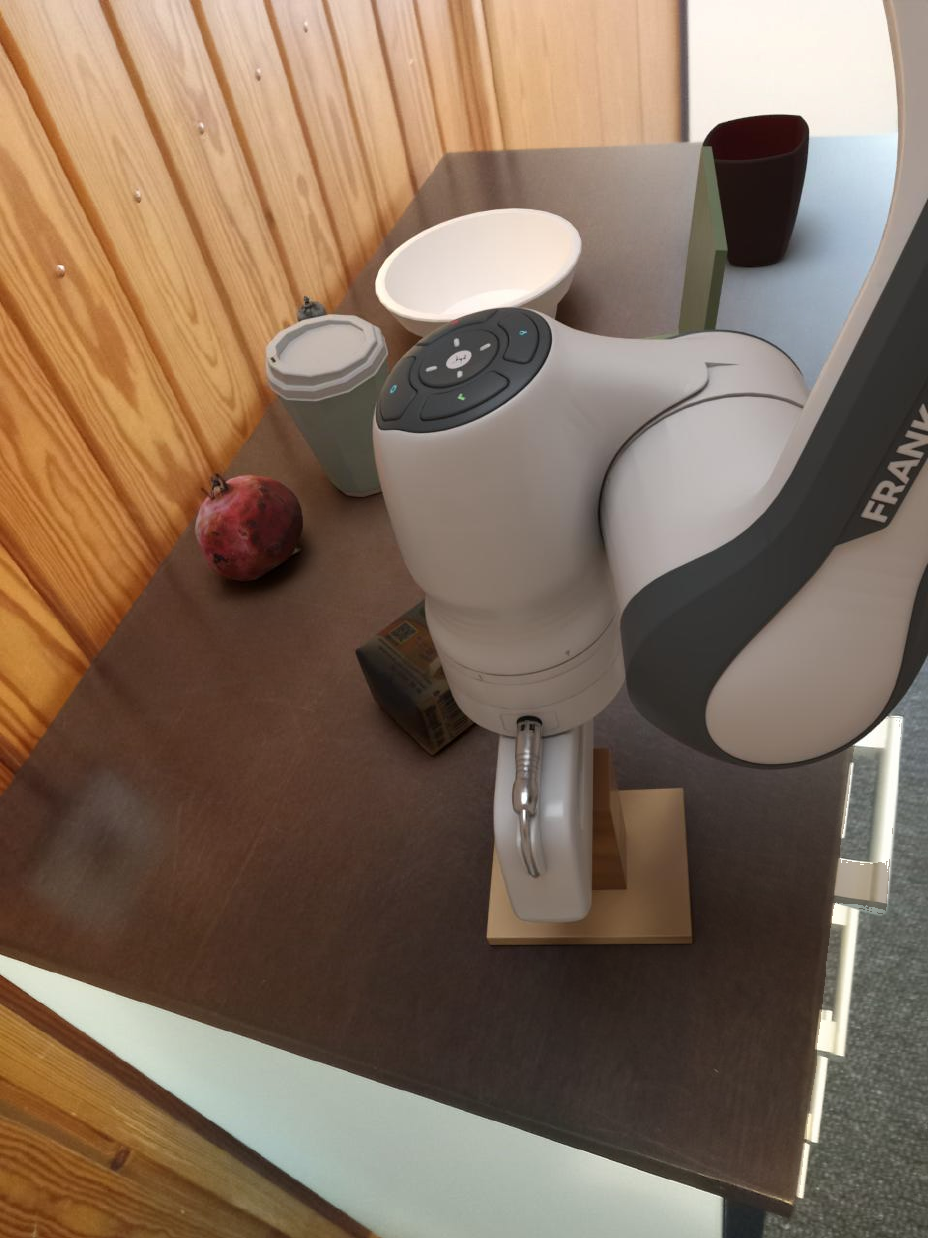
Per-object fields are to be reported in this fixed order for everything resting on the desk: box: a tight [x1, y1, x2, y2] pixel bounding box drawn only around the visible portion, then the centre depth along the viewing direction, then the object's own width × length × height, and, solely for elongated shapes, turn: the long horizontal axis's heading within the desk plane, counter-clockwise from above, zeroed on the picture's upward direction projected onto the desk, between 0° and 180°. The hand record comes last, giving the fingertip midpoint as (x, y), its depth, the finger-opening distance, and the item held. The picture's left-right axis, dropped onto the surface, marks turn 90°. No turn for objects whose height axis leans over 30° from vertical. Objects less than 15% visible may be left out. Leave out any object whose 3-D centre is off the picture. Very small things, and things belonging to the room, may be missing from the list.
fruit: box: [194, 471, 304, 582], centre depth 88 cm, size 9×10×10 cm
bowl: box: [374, 207, 583, 338], centre depth 106 cm, size 21×21×8 cm
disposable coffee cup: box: [264, 313, 389, 498], centre depth 91 cm, size 11×11×15 cm
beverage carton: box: [354, 598, 475, 756], centre depth 75 cm, size 8×19×7 cm, turn 130°
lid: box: [677, 146, 728, 335], centre depth 79 cm, size 16×16×1 cm
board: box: [486, 787, 694, 946], centre depth 64 cm, size 12×10×1 cm
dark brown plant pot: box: [701, 113, 810, 267], centre depth 105 cm, size 10×14×12 cm
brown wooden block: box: [592, 747, 627, 890], centre depth 60 cm, size 5×4×9 cm
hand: (573, 801), depth 59 cm, fingers open, 8 cm apart
